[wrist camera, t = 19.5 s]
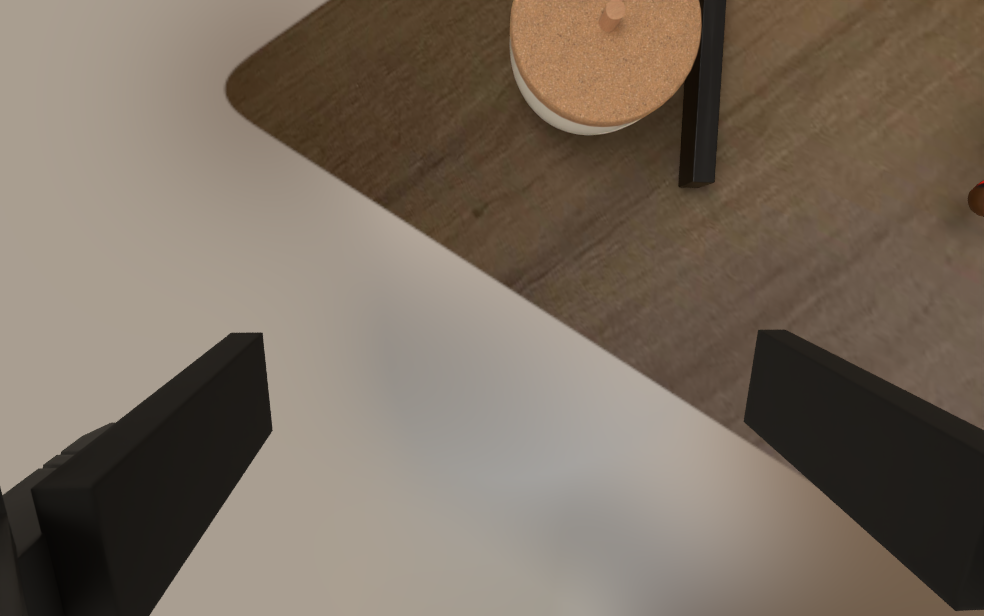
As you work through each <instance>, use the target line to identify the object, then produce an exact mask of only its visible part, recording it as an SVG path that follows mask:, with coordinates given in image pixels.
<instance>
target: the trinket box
mask: <svg viewBox="0 0 984 616" xmlns="http://www.w3.org/2000/svg"><path fill="white" fill-rule="evenodd" d="M701 28H702V21H701V8H700V3H699V0H513V4H512V9H511V17H510V56H511V64H512V69H513V73H514V77H515V80H516V82H517V85H518V87H519V89H520V92H521V94H522V95H523V97H524V98H525V100H526V102H527V103H528V105H529V106H530V107H531V108H532V109H533V111H534V112H535V113H536V114H537V115H538V116H540V117H541V118H542V119H543V120H544V121H546V122H547V123H549V124H550V125H552V126H554V127H556V128H558V129H560V130H563V131H565V132H569V133H573V134H579V135H598V134H606V133H610V132H614V131H617V130H620V129H622V128H624V127H627V126H629V125H631V124H634V123H635V122H637V121H638V120H640V119H641V118H643V117H645V116H647V115H648V114H650V113H652V112H653V111H655V110H656V109H658V108H659V107H660V106H662V105H663V104H664V103H665V102H666V101H667V100H668V99H669V98H671V97H672V96H673V95H674V94H675V92H676V91H677V90H678V89H679V88H680V86H681V85H682V84H683V83H684V81H685V79H686V77H687V76H688V74H689V72H690V71H691V69H692V66H693V64H694V61H695V59H696V56H697V53H698V49H699V44H700V39H701Z"/></svg>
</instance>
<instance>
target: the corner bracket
mask: <svg viewBox="0 0 984 616" xmlns="http://www.w3.org/2000/svg"><path fill="white" fill-rule="evenodd" d="M699 3H700V8H701V21H702V28H701V39H700V44H699V49H698V53H697V56H696V59H695V61H694V64H693V66H692V69H691V71H690V72H689V74H688V76H687V77H686V79H685V86H684V103H683V120H682V137H681V154H680V171H679V187H689V188H699V187H702V186H705V185H708V184H711V183H714V182H715V167H716V151H717V135H718V120H719V104H720V89H721V73H722V57H723V42H724V26H725V10H726V0H699Z"/></svg>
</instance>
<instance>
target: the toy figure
mask: <svg viewBox="0 0 984 616" xmlns="http://www.w3.org/2000/svg"><path fill="white" fill-rule="evenodd" d="M968 204H969V207H970V209H971V210H972V211H973V212H974V213H976V214H977V215H979V216H983V217H984V181H982V182H980V183H979V184H977V185H976V186H975V187H974V188H973V190H971V191H970V192H969V195H968Z"/></svg>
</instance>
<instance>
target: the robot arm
mask: <svg viewBox="0 0 984 616" xmlns="http://www.w3.org/2000/svg"><path fill="white" fill-rule="evenodd" d="M744 422H745V423H746V424H747V425H748V426H749V427H750V428H751V429H753V430H754V431H755V432H756V433H757V434H758V435H759V436H760V437H762V438H763V439H764V440H765V441H766V442H767V443H768V444H769V445H770V446H772V447H773V448H774V449H775V450H776V451H777V452H778V453H779V454H781V455H782V456H783V457H784V458H785V459H786V460H787V461H788V462H789V463H791V464H792V465H793V466H794V467H795V468H796V469H797V470H798V471H800V472H801V473H802V474H803V475H804V476H805V477H806V478H807V479H808V480H810V481H811V482H812V483H813V484H814V485H815V486H816V487H817V488H819V489H820V490H821V491H822V492H823V493H824V494H825V495H826V496H828V497H829V498H830V499H831V500H832V501H833V502H834V503H836V505H838V506H839V507H840V508H841V509H842V510H843V511H844V512H845V513H847V514H848V515H849V516H850V517H851V518H852V519H853V520H854V521H856V522H857V523H858V524H859V525H860V526H861V527H862V528H863V529H864V530H866V531H867V532H868V533H869V534H870V535H871V536H872V537H873V538H874V539H876V540H877V541H878V542H879V543H880V544H881V545H882V546H884V547H885V548H886V549H887V550H888V551H889V552H890V553H891V554H892V555H894V556H895V557H896V558H897V559H898V560H899V561H900V562H901V563H902V564H904V565H905V566H906V567H907V568H908V569H909V570H910V571H911V572H913V573H914V574H915V575H916V576H917V577H918V578H919V579H920V580H922V581H923V582H924V583H925V584H926V585H927V586H928V587H929V588H931V589H932V590H933V591H934V592H935V593H936V594H937V595H938V596H939V597H940V598H942V599H943V600H944V601H945V602H946V603H947V604H948V605H949V606H951V607H952V608H953V609H954V610H955V611H963V610H984V430H982V429H980V428H978V427H976V426H974V425H972V424H970V423H968V422H966V421H964V420H962V419H960V418H958V417H956V416H954V415H952V414H951V413H949V412H947V411H945V410H943V409H941V408H939V407H937V406H935V405H933V404H931V403H929V402H927V401H925V400H923V399H921V398H919V397H917V396H915V395H913V394H911V393H909V392H907V391H905V390H903V389H901V388H899V387H897V386H895V385H893V384H891V383H889V382H887V381H885V380H883V379H881V378H879V377H878V376H876V375H874V374H872V373H870V372H868V371H866V370H864V369H862V368H860V367H858V366H856V365H854V364H852V363H850V362H848V361H846V360H844V359H842V358H840V357H838V356H836V355H834V354H832V353H830V352H828V351H826V350H824V349H822V348H820V347H818V346H816V345H814V344H812V343H810V342H808V341H806V340H804V339H803V338H801V337H799V336H797V335H795V334H793V333H791V332H789V331H787V330H758V335H757V341H756V347H755V354H754V360H753V366H752V373H751V379H750V385H749V391H748V398H747V404H746V410H745V417H744ZM271 432H272V421H271V411H270V401H269V392H268V382H267V372H266V362H265V353H264V343H263V333H230V334H229V335H228V336H227V337H225V338H224V339H223V340H221V341H220V342H219V343H218V344H216V345H215V346H214V347H212V348H211V349H210V350H209V351H207V352H206V353H205V354H203V355H202V356H201V357H200V358H198V359H197V360H196V361H194V362H193V363H192V364H191V365H189V366H188V367H187V368H186V369H184V370H183V371H182V372H180V373H179V374H178V375H176V376H175V377H174V378H173V379H171V380H170V381H169V382H167V383H166V384H165V385H164V386H162V387H161V388H160V389H158V390H157V391H156V392H155V393H153V394H152V395H151V396H149V397H148V398H147V399H146V400H144V401H143V402H142V403H140V404H139V405H138V406H137V407H135V408H134V409H133V410H132V411H130V412H129V413H128V414H126V415H125V416H124V417H122V418H121V419H120V420H119V421H117V422H116V423H109V424H107V425H105V426H103V427H101V428H99V429H97V430H94V431H92V432H90V433H88V434H86V435H84V436H82V437H80V438H79V439H78V440H76V441H75V442H74V443H72V444H71V445H70V446H68V447H67V448H66V449H64V450H63V451H62V452H61V455H56V456H55V457H53V458H52V459H51V460H49V461H48V462H47V463H45V464H44V465H43V468H42V469H38V470H36V471H35V472H33V473H32V474H31V475H29V476H28V477H27V478H25V479H24V480H23V481H21V482H20V483H18V484H17V485H16V486H15V487H13V488H12V489H11V490H9V491H8V492H7V493H6V494H4V495H2V492H1V489H0V616H149V615H150V614H151V612H152V610H153V609H154V608H155V606H156V605H157V603H158V601H159V600H160V599H161V597H162V596H163V594H164V593H165V591H166V589H167V588H168V586H169V585H170V584H171V582H172V581H173V579H174V577H175V576H176V575H177V573H178V571H179V570H180V568H181V567H182V566H183V564H184V563H185V561H186V560H187V558H188V557H189V555H190V554H191V552H192V550H193V549H194V548H195V546H196V545H197V543H198V542H199V540H200V539H201V537H202V535H203V534H204V532H205V531H206V530H207V528H208V527H209V525H210V523H211V522H212V521H213V519H214V518H215V516H216V515H217V513H218V512H219V510H220V509H221V507H222V505H223V504H224V503H225V501H226V500H227V498H228V497H229V495H230V494H231V492H232V490H233V489H234V488H235V486H236V484H237V483H238V482H239V480H240V479H241V477H242V476H243V474H244V473H245V471H246V470H247V468H248V466H249V465H250V464H251V462H252V460H253V459H254V457H255V456H256V454H257V453H258V452H259V450H260V449H261V447H262V445H263V444H264V443H265V441H266V440H267V438H268V436H269V435H270V434H271Z"/></svg>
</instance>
